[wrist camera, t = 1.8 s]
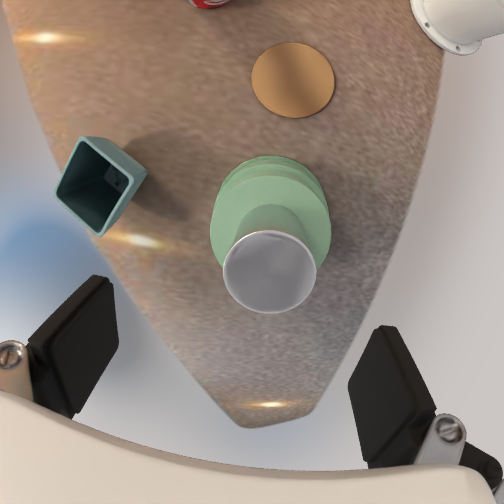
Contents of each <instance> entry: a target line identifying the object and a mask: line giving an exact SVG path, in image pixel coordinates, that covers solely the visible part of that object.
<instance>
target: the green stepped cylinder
mask: <svg viewBox="0 0 504 504" xmlns="http://www.w3.org/2000/svg"><path fill="white" fill-rule="evenodd" d="M267 204H273V205H279V206H283V207H285V208H287V209H289V210H290V211H292V212H293V213H294V214H295V215H296V216H297V217H298V218H299V220H300V222H301V224H302V226H303V230H304V233H305V236H306V240H307V243H308V247H309V249H310V250H311V252H312V254H313V257H314V260H315V264H316V270H317V269H318V268H319V267H320V266H321V264H322V263H323V261H324V260H325V257H326V255H327V253H328V250H329V247H330V242H331V223H330V218H329V210H328V206H327V203H326V199H325V195H324V192H323V190H322V187H321V185H320V184H319V182H318V180H317V179H316V178H315V176H314V175H313V174H312V173H311V172H310V171H309V170H308V169H307V168H306V167H304V166H303V165H302V164H300V163H298V162H296V161H294V160H292V159H289V158H286V157H282V156H273V155H272V156H261V157H256V158H253V159H250V160H248V161H246V162H244V163H242V164H241V165H239V166H238V167H236V168H235V169H234V170H233V171H232V172H231V173H230V174H229V175H228V176H227V178H226V179H225V180H224V182H223V184H222V186H221V188H220V190H219V193H218V196H217V199H216V202H215V205H214V210H213V216H212V220H211V225H210V239H211V245H212V249H213V251H214V254H215V256H216V258H217V260H218V262H219V263H220V265H221V266H222V267H223V266H224V261H225V258H226V256H227V253H228V251H229V249H230V248H231V246H232V245H233V242H234V239H235V236H236V233H237V230H238V227H239V225H240V222H241V220H242V219H243V218H244V216H245V215H246V214H247V213H248V212H249V211H251V210H252V209H254V208H256V207H258V206H262V205H267Z"/></svg>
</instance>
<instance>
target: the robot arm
mask: <svg viewBox="0 0 504 504" xmlns="http://www.w3.org/2000/svg"><path fill="white" fill-rule="evenodd" d="M410 2H411V8H412V11H413V14H414V16H415V18H416V20H417V22H418V24H419V25H420V27H421V28H422V30H423V31H424V32H425V33H426V34H427V36H428V37H429V38H430V39H431V40H432V41H433V42H434V43H436V44H437V45H438V46H440V47H441V48H443V49H444V50H446V51H448V52H450V53H453V54H456V55H469V54H472V53H474V52H476V51H477V50H478V49H479V47H480V45H481V42H482V39H485V38H488V37H491V36H495V35H498V34H502V33H504V0H410ZM28 342H29V343H28V344H27V345H26V346H24V344H22V343H20V342H19V341H14V340H10V341H9V340H8V341H5V342H2V343H0V504H504V479H503V480H502V476H503V471H502V467H501V465H500V463H499V462H498V461H497V460H496V459H495V458H494V457H492V456H490V455H488V454H487V453H485V452H483V451H481V450H480V449H478V448H476V447H475V446H473V445H471V444H469V443H468V442H466V441H465V440H466V429H465V427H464V425H463V423H462V422H461V421H460V420H459V419H458V418H457V417H455V416H453V415H450V414H445V413H443V414H439V415H437V416H436V415H435V410H436V409H437V408H436V406H435V404H434V401H433V399H432V397H431V395H430V393H429V391H428V388H427V387H426V384H425V382H424V380H423V378H422V376H421V374H420V372H419V370H418V368H417V366H416V364H415V362H414V360H413V358H412V356H411V354H410V352H409V350H408V349H407V346H406V345H405V343H404V341H403V339H402V337H401V335H400V333H399V331H398V330H397V328H396V327H394V326H384V325H381V326H379V328H378V329H375V330H374V331H373V333H372V335H371V337H370V340H369V342H368V344H367V346H366V348H365V350H364V352H363V354H362V356H361V358H360V360H359V362H358V364H357V366H356V368H355V370H354V372H353V374H352V376H351V377H350V379H349V382H348V392H349V396H350V400H351V404H352V409H353V413H354V418H355V422H356V427H357V431H358V436H359V441H360V446H361V451H362V456H363V460H364V461H365V462H367V464H368V469H362V470H344V471H294V470H277V469H264V468H254V467H245V466H237V465H230V464H223V463H217V462H211V461H206V460H201V459H196V458H191V457H186V456H182V455H177V454H173V453H169V452H165V451H161V450H157V449H154V448H150V447H147V446H143V445H139V444H136V443H133V442H130V441H127V440H124V439H121V438H118V437H115V436H112V435H109V434H107V433H104V432H101V431H99V430H96V429H94V428H91V427H89V426H86V425H83V424H81V423H78V422H76V421H73V420H72V418H73V416H74V415H75V413H77V414H78V413H80V411H81V410H82V408H83V406H84V404H85V403H86V401H87V399H88V397H89V396H90V394H91V392H92V391H93V389H94V387H95V385H96V384H97V382H98V380H99V379H100V377H101V375H102V374H103V372H104V370H105V369H106V367H107V365H108V364H109V362H110V360H111V359H112V357H113V355H114V354H115V352H116V350H117V349H118V345H119V338H118V330H117V321H116V311H115V301H114V288H113V284H112V283H110V281H109V279H108V278H107V277H102V276H98V275H92V276H91V277H90V278H89V279H88V280H87V281H86V282H84V283H83V284H82V285H81V286H80V287H79V288H78V289H77V290H76V291H75V292H74V293H73V294H72V295H71V296H70V297H69V298H68V299H67V300H66V301H65V302H64V303H63V304H62V305H61V306H60V307H59V308H58V309H57V310H56V311H55V312H54V313H53V314H52V315H51V316H50V317H49V318H48V319H47V320H46V321H45V322H44V323H43V324H42V325H41V326H40V327H39V328H38V329H37V330H36V331H35V332H34V334H33V335H32V336H31V337H30V338H29V339H28Z"/></svg>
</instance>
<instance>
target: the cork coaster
mask: <svg viewBox="0 0 504 504" xmlns="http://www.w3.org/2000/svg"><path fill="white" fill-rule="evenodd" d="M252 86H253V89H254V92H255V94H256V96H257V98H258V99H259V101H260V102H261V103H262V104H263V105H264V106H265V107H266V108H267V109H269V110H270V111H272V112H274V113H275V114H278V115H280V116H284V117H289V118H301V117H306V116H310V115H312V114H314V113H316V112H318V111H319V110H321V109H322V108H323V107H324V106H325V105H326V104H327V103H328V101H329V100H330V98H331V96H332V93H333V90H334V74H333V71H332V68H331V66H330V64H329V63H328V61H327V60H326V59H325V57H324V56H323V55H322V54H320V53H319V52H318V51H317V50H315V49H313V48H311V47H309V46H307V45H304V44H300V43H282V44H278V45H275V46H273V47H271V48H269V49H267V50H266V51H265V52H263V53H262V54H261V55H260V57H259V58H258V59H257V61H256V63H255V65H254V67H253V71H252Z"/></svg>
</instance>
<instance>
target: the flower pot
mask: <svg viewBox="0 0 504 504" xmlns="http://www.w3.org/2000/svg"><path fill="white" fill-rule="evenodd" d="M114 166H115V167H116V169H114ZM147 173H148V171H147V169H146V168H145V167H143V166H142V165H141V164H139V163H138V162H137V161H136V160H135V159H133V158H132V157H131V156H130V155H128V154H127V153H126V152H125V151H123V150H122V149H121V148H120V147H119V146H117V145H116V144H115V143H114V142H112V141H110V140H108V139H106V138H101V137H91V136H81V137H80V138H79V139H78V141H77V143H76V145H75V147H74V149H73V151H72V153H71V155H70V157H69V159H68V162H67V164H66V166H65V168H64V170H63V172H62V174H61V177H60V179H59V181H58V183H57V185H56V188H55V190H54V195H53V196H54V198H55V199H56V200H57V201H59V202H60V203H61V204H62V205H63V206H64V207H65V208H66V209H67V210H68V211H70V212H71V213H72V214H73V215H74V216H75V217H76V218H77V219H79V221H81V222H82V223H83V224H84V225H85V226H86V227H87V228H88V229H89V230H90V231H91V232H92V233H94V234H95V235H96V236H98V237H102V236H103V235H104V234H105V233H106V232H107V231H108V230H109V229H110V227H111V226H112V225H113V224H114V223H115V222H116V221H117V220H118V219H119V218H120V216H121V215H122V213H123V212H124V210H125V208H126V207H127V205H128V203H129V202H130V200H131V199H132V197H133V195H134V194H135V192H136V191H137V189H138V188H139V186H140V185H141V183H142V182H143V180H144V179H145V177H146V176H147ZM117 181H118V182H119V185H117V184H116V182H117Z"/></svg>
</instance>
